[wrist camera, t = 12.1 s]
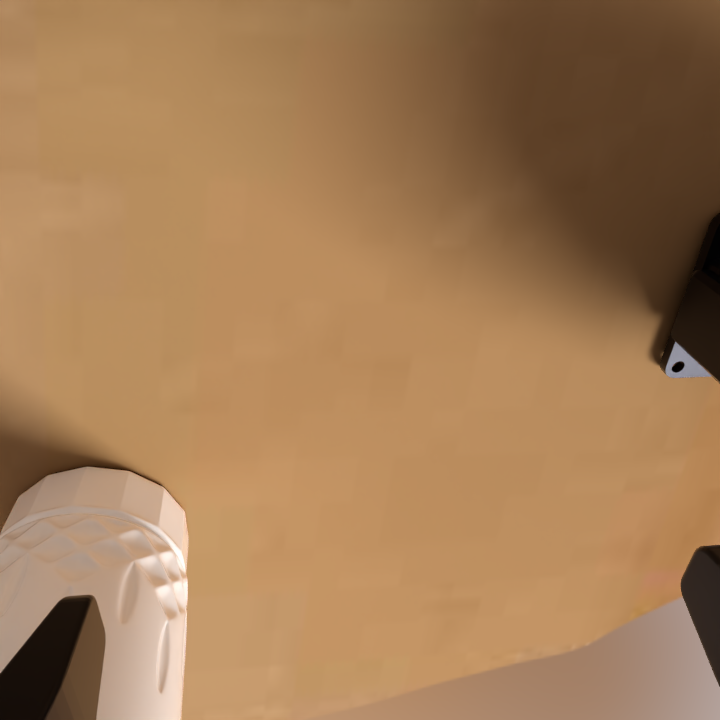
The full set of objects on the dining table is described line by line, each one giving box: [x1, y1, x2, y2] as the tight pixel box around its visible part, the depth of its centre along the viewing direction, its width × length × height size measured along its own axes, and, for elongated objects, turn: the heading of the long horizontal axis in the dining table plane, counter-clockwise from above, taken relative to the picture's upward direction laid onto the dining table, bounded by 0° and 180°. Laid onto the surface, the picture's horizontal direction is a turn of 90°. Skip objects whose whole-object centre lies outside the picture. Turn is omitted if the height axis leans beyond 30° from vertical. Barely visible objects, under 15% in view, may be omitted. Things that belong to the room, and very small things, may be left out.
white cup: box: [0, 467, 189, 720], centre depth 21 cm, size 8×8×10 cm
